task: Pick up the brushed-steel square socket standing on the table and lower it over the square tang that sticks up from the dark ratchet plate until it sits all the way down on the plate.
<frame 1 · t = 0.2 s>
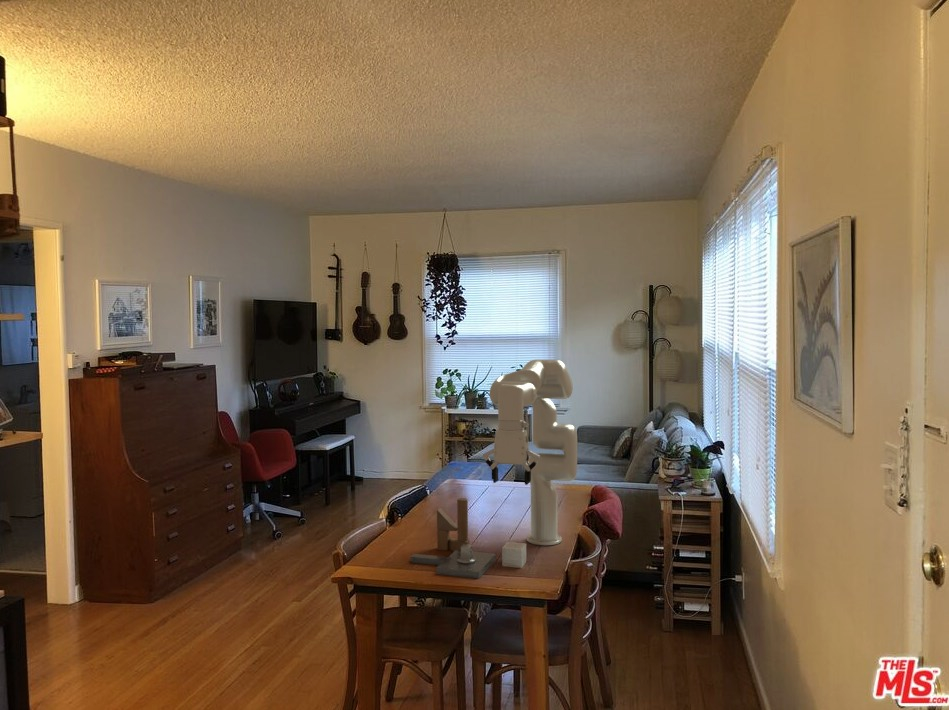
hand: (511, 482, 205), 31 cm above the table, tool pointing down, fingers open, 9 cm apart
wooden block: (453, 550, 238), on the table
tang block: (466, 566, 221), on the table
socket: (514, 563, 223), on the table
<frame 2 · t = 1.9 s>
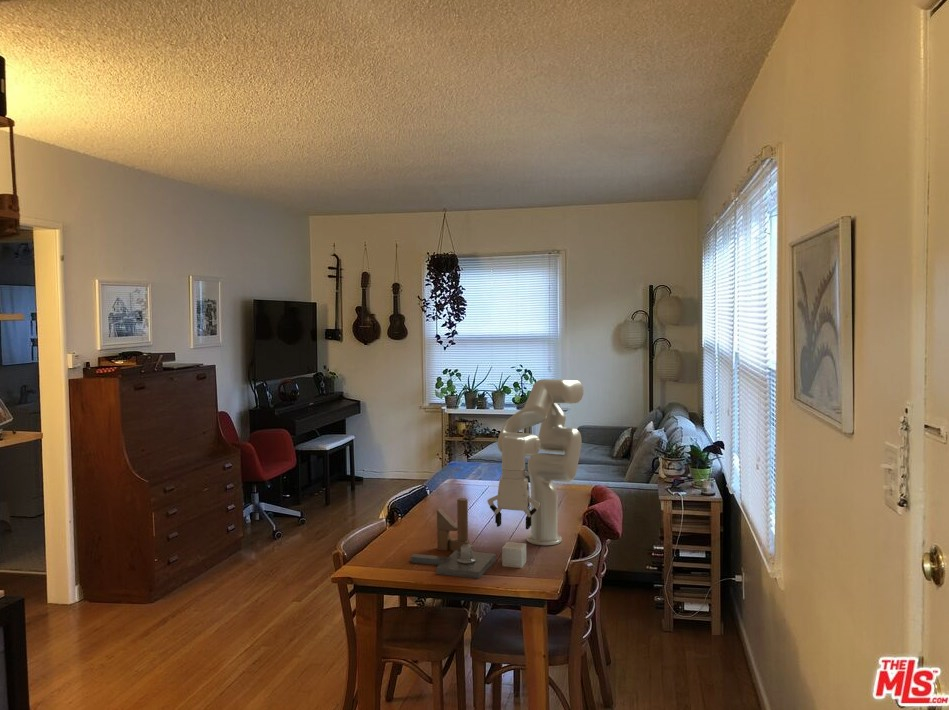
hand: (513, 527, 222), 12 cm above the table, tool pointing down, fingers open, 9 cm apart
nothing on the table moved.
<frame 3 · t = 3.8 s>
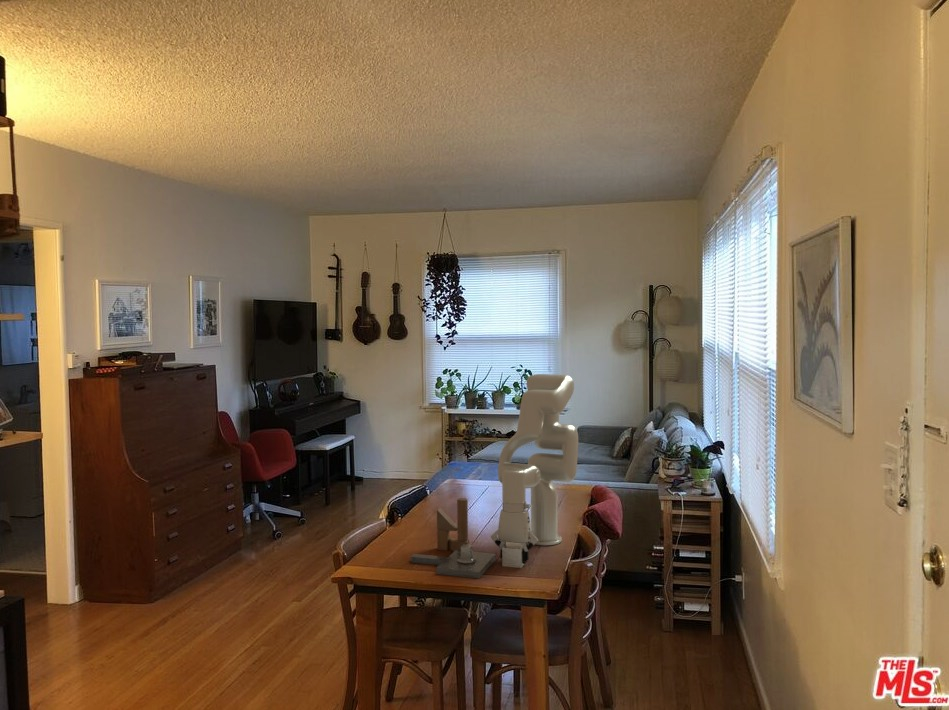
hand: (514, 560, 223), 1 cm above the table, tool pointing down, fingers closed on socket, 6 cm apart
socket: (514, 563, 223), on the table, touching gripper
everything else where it was.
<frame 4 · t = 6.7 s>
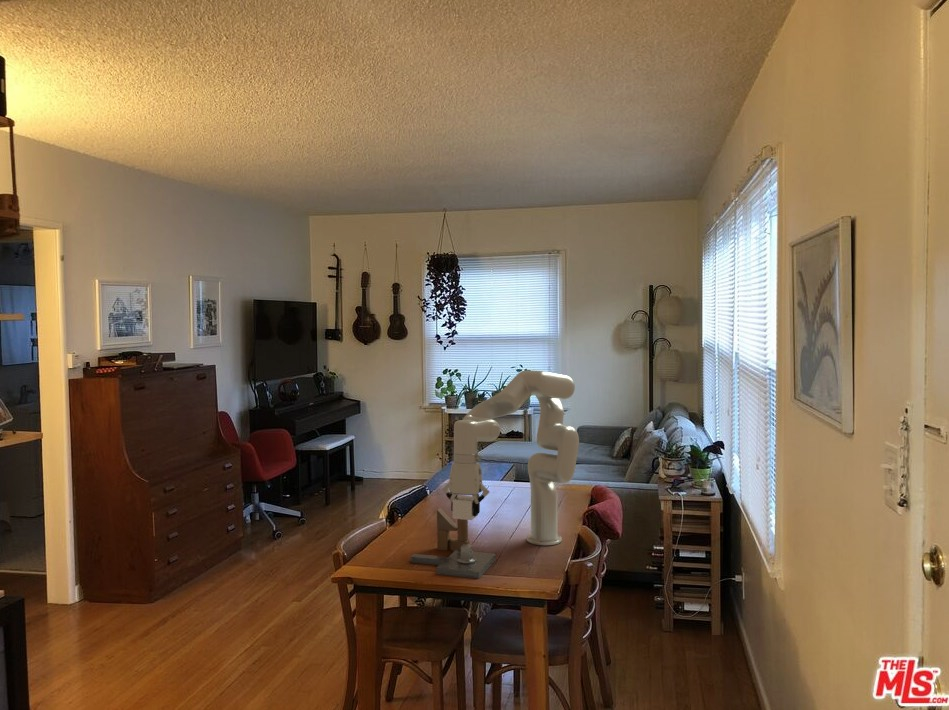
hand: (465, 513, 220), 17 cm above the table, tool pointing down, fingers closed on socket, 6 cm apart
socket: (465, 516, 220), point 16 cm above the table, touching gripper
everything else where it was.
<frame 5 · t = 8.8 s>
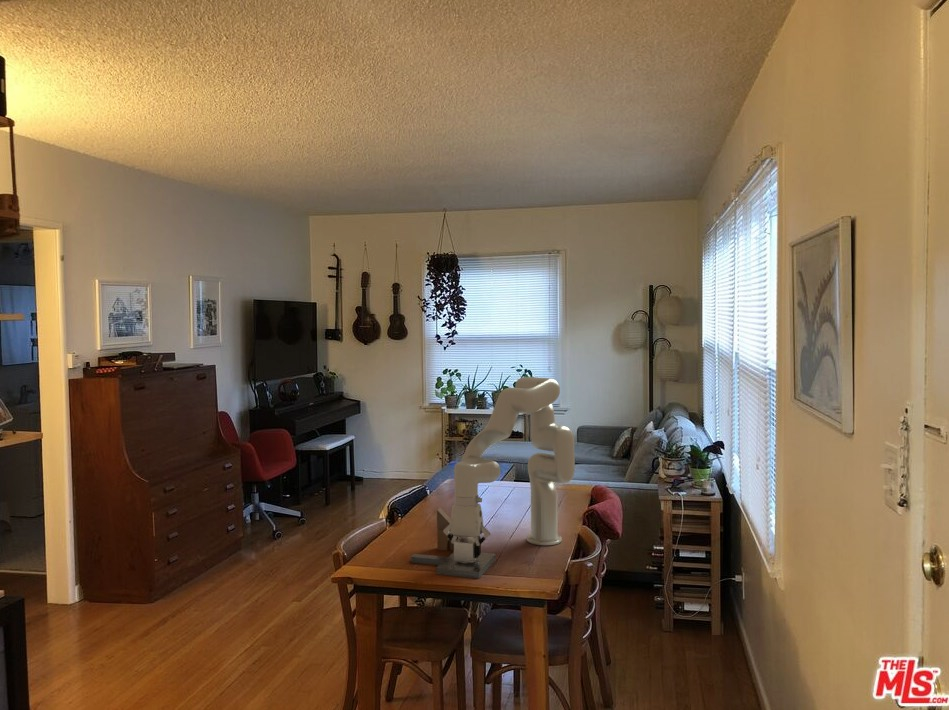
hand: (466, 555, 221), 4 cm above the table, tool pointing down, fingers closed on socket, 6 cm apart
socket: (466, 558, 221), point 3 cm above the table, touching gripper
everything else where it was.
when the fingers open (4 cm above the table, at t = 9.9 s): socket stays where it is, resting on tang block.
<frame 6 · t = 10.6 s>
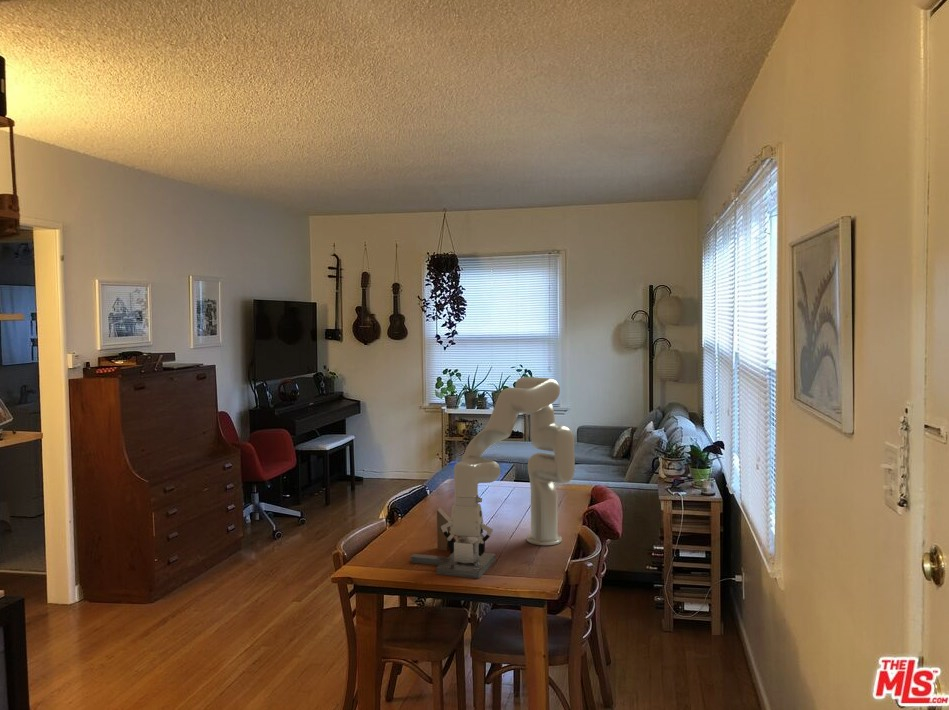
hand: (466, 553, 221), 4 cm above the table, tool pointing down, fingers open, 9 cm apart
socket: (466, 558, 221), point 3 cm above the table, touching tang block
everything else where it was.
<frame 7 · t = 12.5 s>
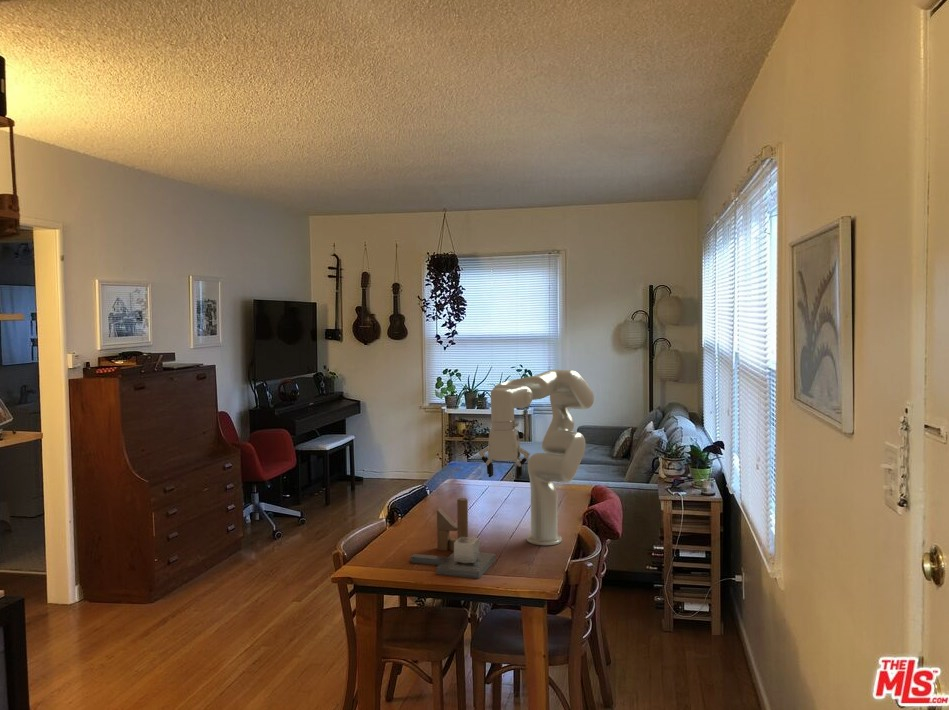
hand: (504, 476, 227), 28 cm above the table, tool pointing down, fingers open, 9 cm apart
nothing on the table moved.
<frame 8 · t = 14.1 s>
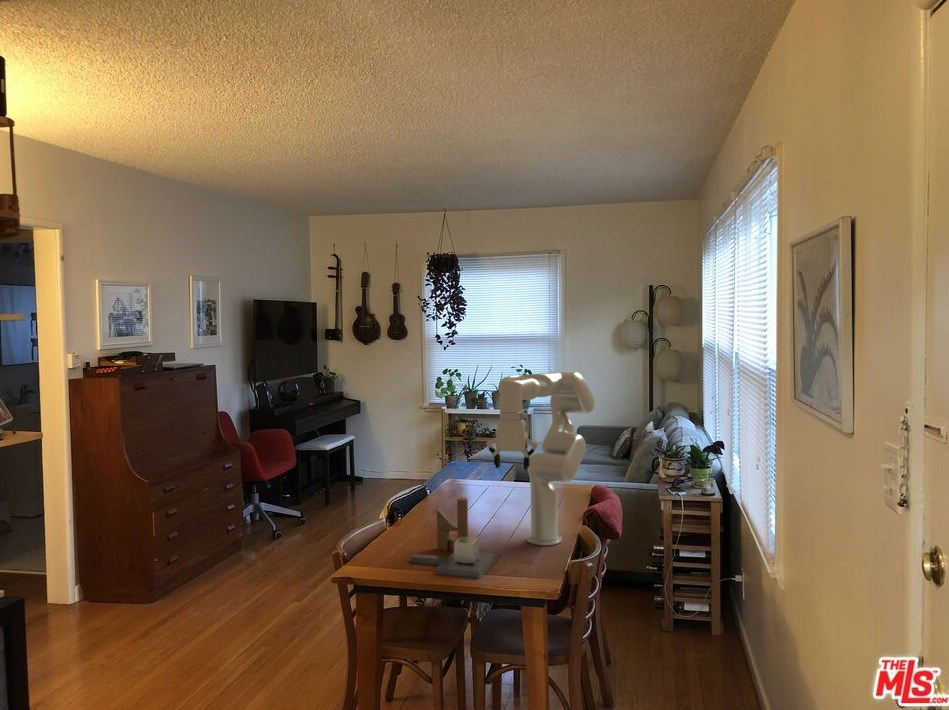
hand: (511, 468, 228), 30 cm above the table, tool pointing down, fingers open, 9 cm apart
nothing on the table moved.
at the end: socket 0.0 cm off-centre on the tang block, point 2.6 cm above the tang block's base; socket tilted 0°; the gripper is holding nothing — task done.
